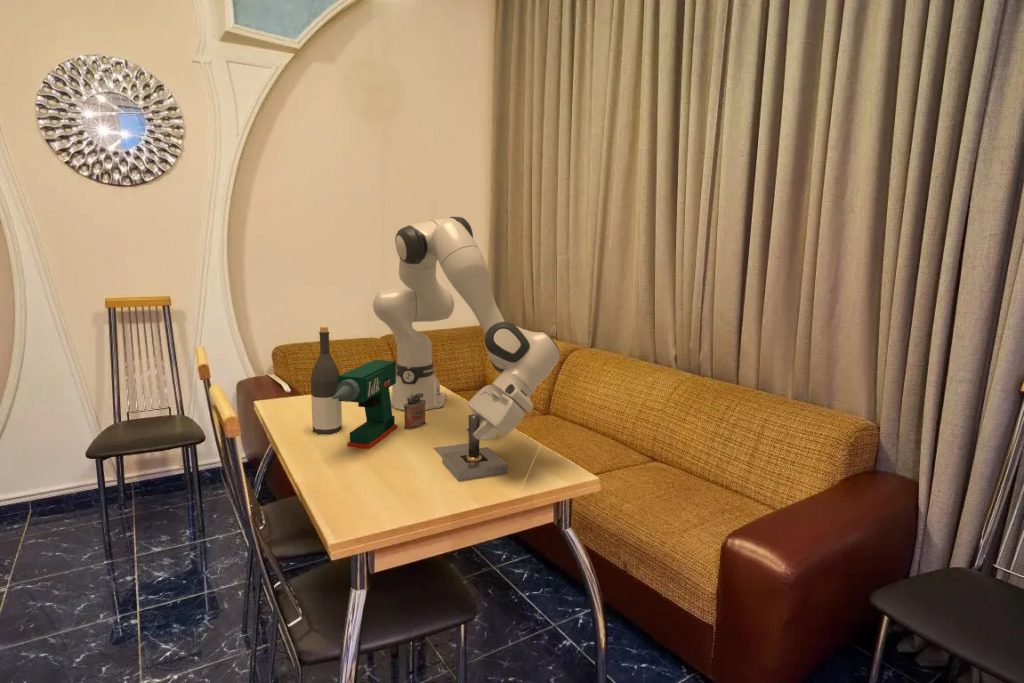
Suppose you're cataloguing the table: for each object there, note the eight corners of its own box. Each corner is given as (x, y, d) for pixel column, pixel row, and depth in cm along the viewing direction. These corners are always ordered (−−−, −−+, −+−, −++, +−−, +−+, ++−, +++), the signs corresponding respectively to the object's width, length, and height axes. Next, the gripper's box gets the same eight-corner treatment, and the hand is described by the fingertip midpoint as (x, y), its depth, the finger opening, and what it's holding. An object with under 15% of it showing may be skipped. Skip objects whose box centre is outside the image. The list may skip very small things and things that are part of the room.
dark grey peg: (468, 458, 144) (468, 412, 142) (483, 460, 143) (483, 414, 141) (464, 464, 140) (464, 417, 138) (479, 465, 139) (479, 418, 138)
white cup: (499, 433, 170) (499, 399, 168) (498, 442, 162) (499, 407, 160) (471, 432, 170) (472, 399, 168) (469, 442, 162) (470, 406, 160)
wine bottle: (325, 437, 164) (321, 329, 159) (306, 431, 168) (302, 326, 163) (348, 429, 170) (345, 326, 165) (329, 424, 175) (326, 323, 170)
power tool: (347, 468, 142) (345, 386, 139) (320, 465, 143) (317, 384, 140) (398, 428, 173) (398, 360, 169) (376, 426, 174) (375, 359, 171)
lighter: (410, 431, 169) (409, 398, 168) (401, 429, 171) (400, 396, 170) (428, 425, 176) (428, 392, 174) (419, 423, 178) (419, 390, 176)
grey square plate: (433, 449, 155) (433, 447, 155) (468, 444, 159) (468, 443, 159) (444, 462, 146) (444, 460, 146) (482, 457, 150) (482, 455, 150)
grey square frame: (442, 464, 145) (442, 453, 144) (487, 458, 150) (488, 447, 149) (458, 483, 134) (458, 470, 134) (506, 475, 139) (507, 463, 139)
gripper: (485, 373, 151) (448, 414, 148) (519, 392, 132) (478, 439, 130) (501, 389, 153) (465, 429, 151) (536, 409, 135) (496, 456, 132)
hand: (471, 434), depth 140 cm, fingers closed on dark grey peg, 3 cm apart
